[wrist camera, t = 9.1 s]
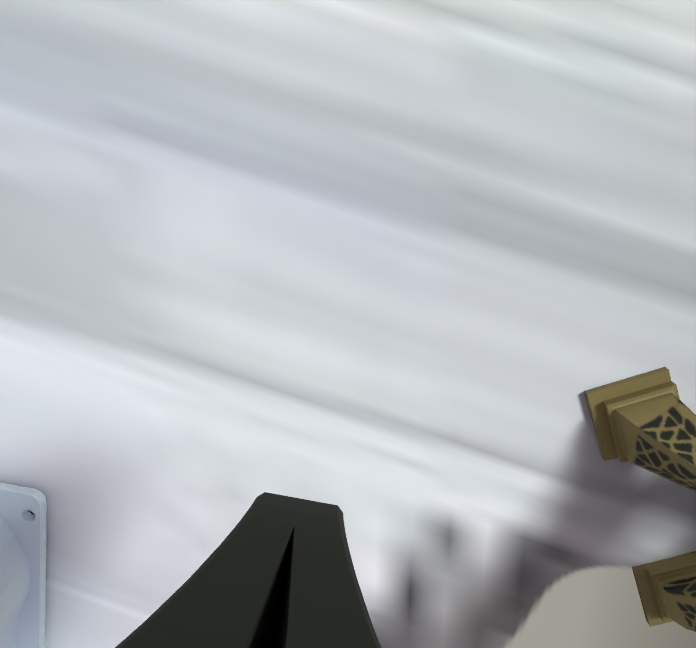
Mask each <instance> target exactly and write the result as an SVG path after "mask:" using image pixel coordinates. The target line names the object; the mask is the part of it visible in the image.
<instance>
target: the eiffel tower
mask: <svg viewBox="0 0 696 648" xmlns="http://www.w3.org/2000/svg"><path fill="white" fill-rule="evenodd" d="M585 395H586V399H587V402H588V406H589V410H590V413H591V417H592V421H593V424H594V428H595V432H596V435H597V439H598V443H599V446H600V450H601V454H602V457H603V459H604V460H605V461H606V460H610V459H613V458H617V457H618V459H619V460H620V461H621V462H624V461H628V460H630V461H631V463H633V464H635V465H638V466H640V467H642V468H644V469H646V470H649V471H651V472H653V473H655V474H658V475H660V476H662V477H664V478H667V479H669V480H671V481H673V482H675V483H678V484H680V485H682V486H684V487H687V488H689V489H691V490H693V491H695V492H696V415H695V414H694V413H693V412H692V411H691V410H690V409H689V408H688V407H687V406H686V405H685V404H683V403H682V402H681V401H680V399H679V395H678V390H677V386H676V384H674V383H673V382H672V381H671V378H670V373H669V369H667V368H666V367H663V368H660V369H656V370H653V371H650V372H646V373H643V374H640V375H636V376H633V377H630V378H626V379H623V380H620V381H616V382H613V383H610V384H606V385H603V386H600V387H596V388H593V389H590V390H586V391H585ZM632 570H633V574H634V577H635V581H636V585H637V588H638V592H639V596H640V599H641V603H642V606H643V610H644V614H645V618H646V621H647V622H648V624H649V626H654V625H659V624H663V623H667V622H671V621H675V622H677V623H678V624H680V625H681V626H683V627H684V628H686V629H688V630H692V631H696V552H692V553H688V554H684V555H680V556H676V557H672V558H668V559H664V560H660V561H656V562H652V563H648V564H644V565H640V566H636V567H632Z"/></svg>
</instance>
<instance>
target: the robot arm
mask: <svg viewBox="0 0 696 648" xmlns="http://www.w3.org/2000/svg"><path fill="white" fill-rule="evenodd" d="M29 510H30V511H32V512H33V513H34V514H35V515H33V514H31V513H30V512H29ZM46 520H47V501H46V497H45V495H44V494H43V493H42V492H41V491H39V490H37V489H34V488H29V487H24V486H18V485H13V484H7V483H2V482H0V648H45V621H46ZM115 648H381V646H380V643H379V641H378V638H377V636H376V633H375V630H374V628H373V625H372V622H371V619H370V617H369V614H368V611H367V608H366V605H365V602H364V599H363V596H362V593H361V590H360V587H359V584H358V580H357V577H356V574H355V570H354V567H353V563H352V559H351V555H350V551H349V547H348V543H347V538H346V533H345V527H344V520H343V512H342V511H341V509H340V508H339V507H338V506H337V505H332V504H326V503H321V502H315V501H310V500H304V499H299V498H293V497H288V496H282V495H277V494H272V493H266V492H265V493H263V494H261V495H260V496H258V497H257V498H256V499H255V501H254V503H253V504H252V506H251V507H250V508H249V510H248V511H247V513H246V514H245V515H244V517H243V518H242V519H241V520H240V522H239V523H238V524H237V525H236V527H235V528H234V529H233V530H232V531H231V533H230V534H229V535H228V536H227V537H226V539H225V540H224V541H223V542H222V543H221V545H220V546H219V547H218V548H217V549H216V550H215V551H214V552H213V553H212V554H211V555H210V557H209V558H208V559H207V560H206V561H205V562H204V563H203V564H202V565H201V566H200V567H199V569H198V570H197V571H196V572H195V573H194V574H193V575H192V576H191V577H190V578H189V579H188V580H187V581H186V582H185V583H184V584H183V585H182V586H181V587H180V588H179V589H178V590H177V591H176V592H175V593H174V594H173V595H172V596H171V597H170V598H169V599H168V600H167V601H166V602H165V603H163V604H162V605H161V606H160V607H159V608H158V609H157V610H156V611H155V612H154V613H153V614H152V615H151V616H150V617H149V618H148V619H147V620H146V621H145V622H144V623H143V624H141V625H140V626H139V627H138V628H137V629H136V630H135V631H134V632H132V633H131V634H130V635H129V636H128V637H127V638H126V639H125V640H123V641H122V642H121V643H120V644H119V645H118V646H116V647H115Z"/></svg>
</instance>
